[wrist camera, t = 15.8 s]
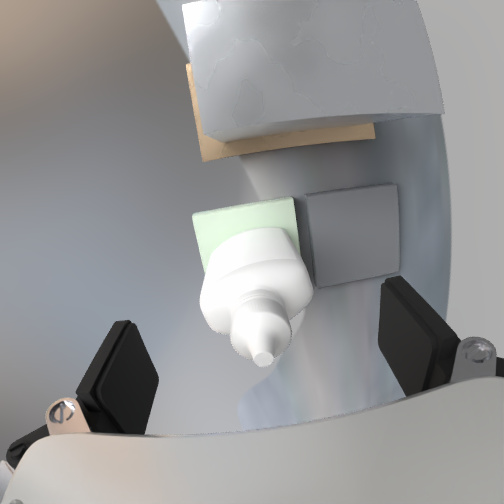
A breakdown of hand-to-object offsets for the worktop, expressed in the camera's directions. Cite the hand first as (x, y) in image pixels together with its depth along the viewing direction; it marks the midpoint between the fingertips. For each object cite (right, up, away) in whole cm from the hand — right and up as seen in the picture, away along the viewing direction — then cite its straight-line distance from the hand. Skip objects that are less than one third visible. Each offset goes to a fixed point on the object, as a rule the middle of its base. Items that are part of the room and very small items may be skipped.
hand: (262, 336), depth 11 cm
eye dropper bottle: (0, +3, +11) cm, 11 cm away
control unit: (+2, +14, +8) cm, 16 cm away
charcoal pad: (+7, +4, +12) cm, 15 cm away
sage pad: (0, +3, +12) cm, 12 cm away
